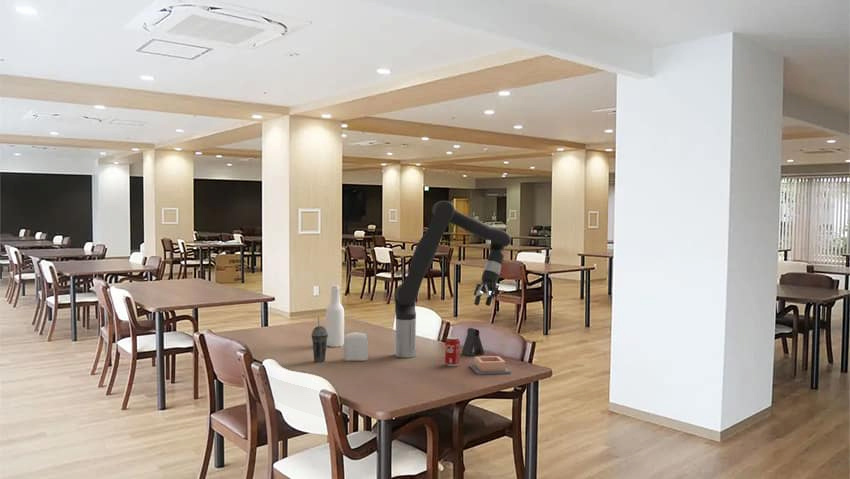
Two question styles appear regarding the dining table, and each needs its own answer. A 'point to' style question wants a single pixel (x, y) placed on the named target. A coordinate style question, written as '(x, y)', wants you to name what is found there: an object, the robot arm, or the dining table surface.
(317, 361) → the beverage cup
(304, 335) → the dining table surface
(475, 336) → the phone stand
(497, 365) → the holder
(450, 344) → the beverage can
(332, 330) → the alcohol
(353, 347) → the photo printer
